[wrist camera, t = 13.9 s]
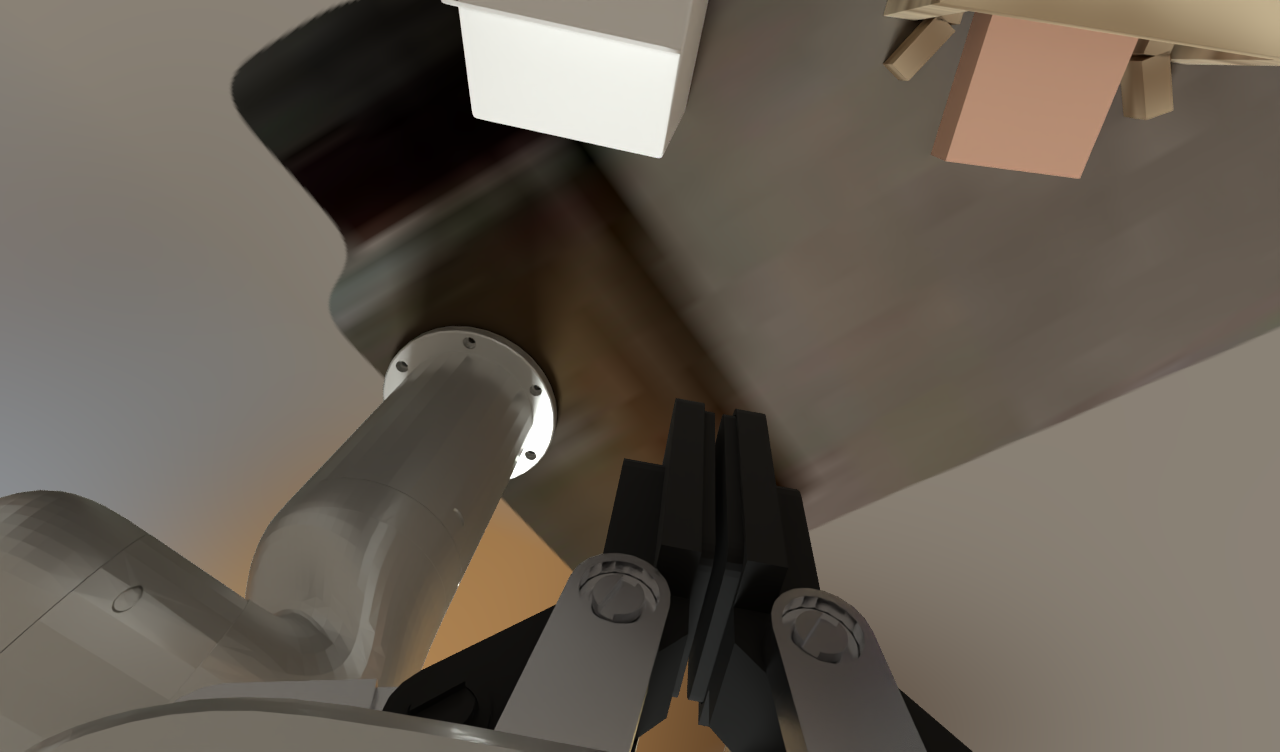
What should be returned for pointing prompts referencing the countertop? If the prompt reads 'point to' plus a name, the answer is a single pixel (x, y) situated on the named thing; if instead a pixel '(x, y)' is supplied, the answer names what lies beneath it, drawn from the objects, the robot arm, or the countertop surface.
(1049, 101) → the tile
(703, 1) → the milk
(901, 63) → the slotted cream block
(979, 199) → the countertop surface
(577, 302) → the countertop surface
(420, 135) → the countertop surface
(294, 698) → the robot arm
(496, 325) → the countertop surface
